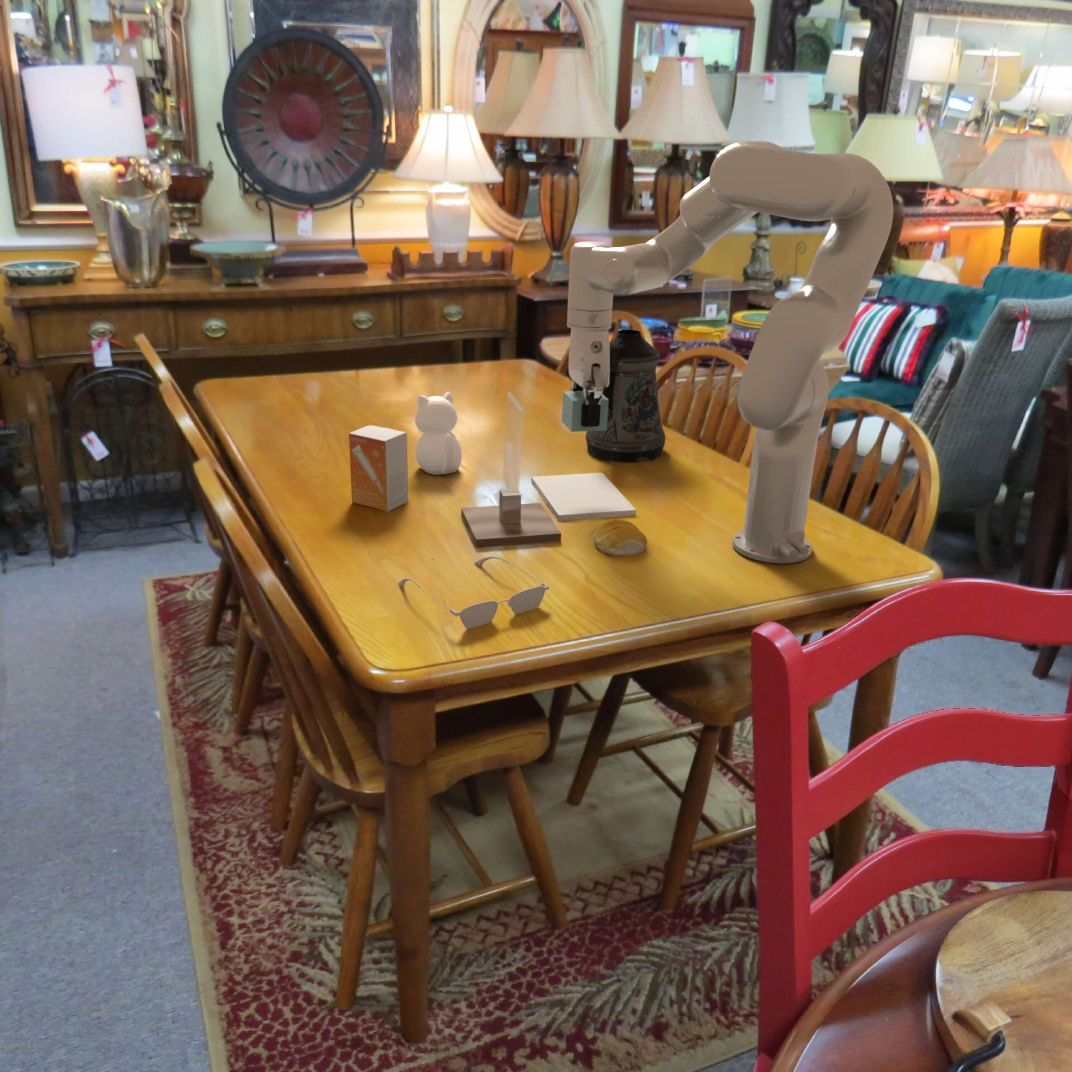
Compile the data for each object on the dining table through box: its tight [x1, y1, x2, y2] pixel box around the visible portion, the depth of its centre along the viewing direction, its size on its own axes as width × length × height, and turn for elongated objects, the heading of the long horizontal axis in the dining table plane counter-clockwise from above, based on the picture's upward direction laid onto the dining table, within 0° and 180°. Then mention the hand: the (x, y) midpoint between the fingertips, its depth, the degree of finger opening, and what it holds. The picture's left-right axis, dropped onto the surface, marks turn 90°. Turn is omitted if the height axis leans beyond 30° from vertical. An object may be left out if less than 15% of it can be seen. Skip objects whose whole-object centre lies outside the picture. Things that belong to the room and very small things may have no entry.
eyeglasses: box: [397, 556, 550, 630], centre depth 141 cm, size 15×18×4 cm
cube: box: [561, 390, 609, 433], centre depth 173 cm, size 6×6×6 cm
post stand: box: [460, 488, 562, 549], centre depth 163 cm, size 14×14×6 cm
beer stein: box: [585, 329, 666, 464], centre depth 199 cm, size 16×19×25 cm
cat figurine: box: [414, 391, 463, 476], centre depth 188 cm, size 9×12×15 cm
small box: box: [348, 424, 409, 513], centre depth 172 cm, size 8×6×13 cm
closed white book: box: [530, 472, 637, 522], centre depth 179 cm, size 20×14×1 cm
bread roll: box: [593, 519, 648, 557], centre depth 159 cm, size 8×9×4 cm
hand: (584, 419), depth 173 cm, fingers closed on cube, 6 cm apart
